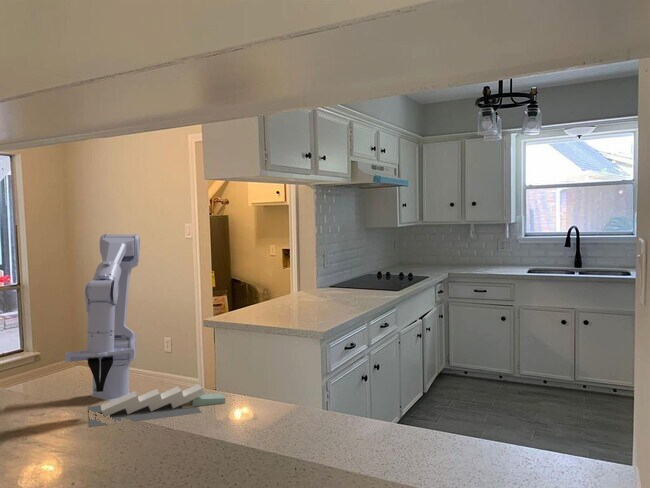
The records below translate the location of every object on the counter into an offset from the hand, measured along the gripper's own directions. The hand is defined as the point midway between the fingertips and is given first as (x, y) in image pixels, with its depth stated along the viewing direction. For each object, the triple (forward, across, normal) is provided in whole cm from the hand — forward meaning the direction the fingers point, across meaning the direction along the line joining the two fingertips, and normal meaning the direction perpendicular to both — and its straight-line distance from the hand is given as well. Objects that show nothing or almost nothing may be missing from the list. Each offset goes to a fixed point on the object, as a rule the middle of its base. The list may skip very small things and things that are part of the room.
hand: (99, 390), depth 114 cm
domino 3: (+5, +11, 0) cm, 12 cm away
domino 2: (+5, +6, 0) cm, 7 cm away
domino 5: (+5, +21, 0) cm, 21 cm away
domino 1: (+5, +1, 0) cm, 5 cm away
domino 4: (+5, +16, 0) cm, 17 cm away
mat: (+6, +10, 0) cm, 11 cm away
